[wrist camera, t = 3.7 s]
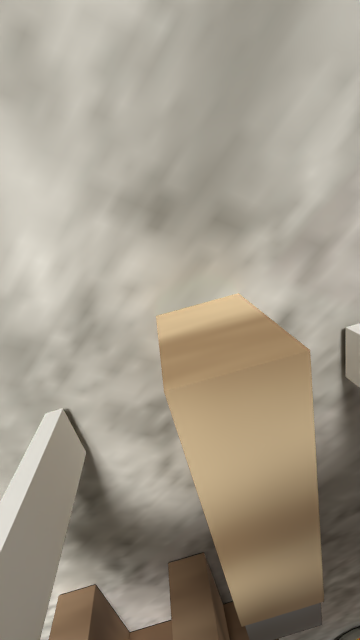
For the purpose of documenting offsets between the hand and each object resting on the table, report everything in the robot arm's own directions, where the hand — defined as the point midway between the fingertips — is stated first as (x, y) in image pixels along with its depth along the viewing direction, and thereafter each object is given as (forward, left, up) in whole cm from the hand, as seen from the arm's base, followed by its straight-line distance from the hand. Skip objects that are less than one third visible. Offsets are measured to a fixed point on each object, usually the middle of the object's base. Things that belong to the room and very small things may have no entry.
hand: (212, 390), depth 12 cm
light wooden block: (+3, 0, 0) cm, 3 cm away
